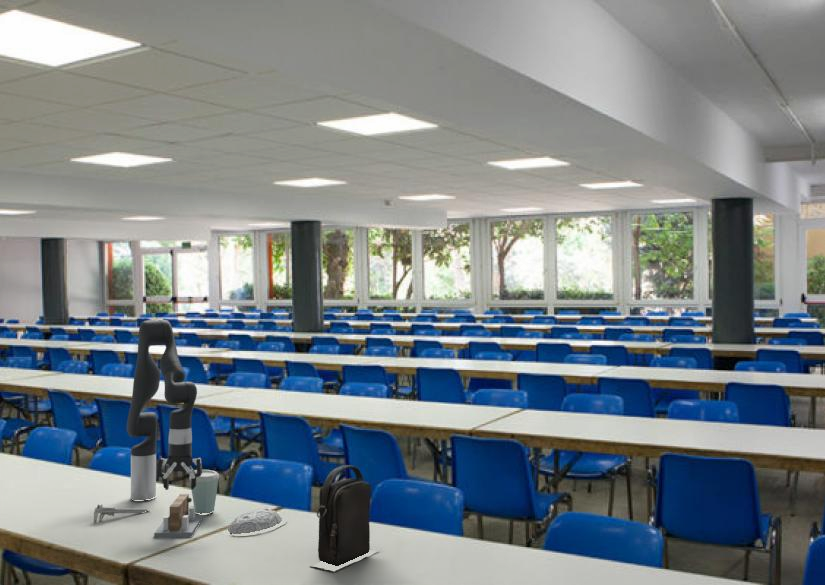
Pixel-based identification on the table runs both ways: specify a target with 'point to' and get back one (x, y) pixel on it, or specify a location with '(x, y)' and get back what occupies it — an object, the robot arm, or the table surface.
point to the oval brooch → (255, 521)
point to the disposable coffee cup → (205, 491)
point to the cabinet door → (178, 511)
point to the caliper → (112, 511)
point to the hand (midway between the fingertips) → (179, 489)
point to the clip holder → (187, 528)
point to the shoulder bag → (344, 518)
